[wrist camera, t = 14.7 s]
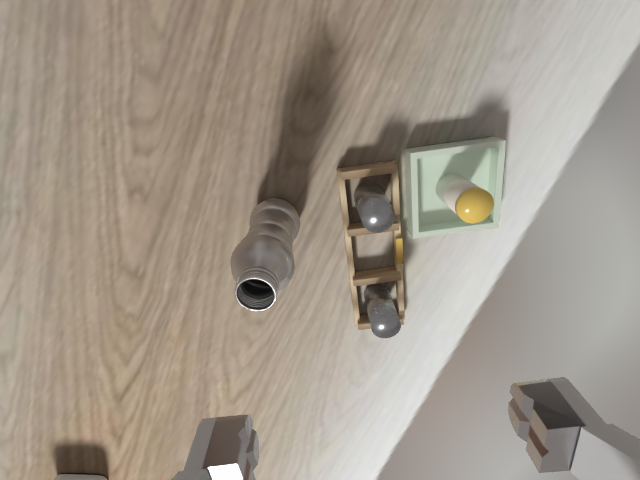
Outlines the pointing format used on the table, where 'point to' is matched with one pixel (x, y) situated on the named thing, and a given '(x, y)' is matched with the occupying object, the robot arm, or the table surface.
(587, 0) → the table surface
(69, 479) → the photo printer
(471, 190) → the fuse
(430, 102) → the table surface
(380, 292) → the canister
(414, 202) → the tray
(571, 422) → the robot arm
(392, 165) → the rack
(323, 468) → the table surface
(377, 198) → the canister
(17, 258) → the table surface
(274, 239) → the plastic bottle
